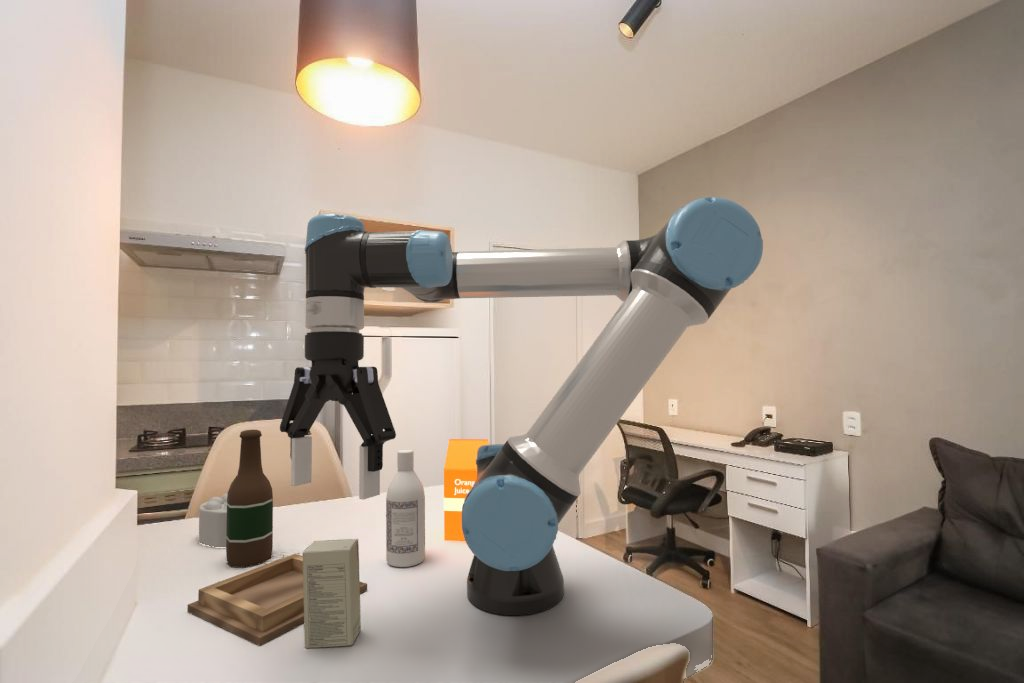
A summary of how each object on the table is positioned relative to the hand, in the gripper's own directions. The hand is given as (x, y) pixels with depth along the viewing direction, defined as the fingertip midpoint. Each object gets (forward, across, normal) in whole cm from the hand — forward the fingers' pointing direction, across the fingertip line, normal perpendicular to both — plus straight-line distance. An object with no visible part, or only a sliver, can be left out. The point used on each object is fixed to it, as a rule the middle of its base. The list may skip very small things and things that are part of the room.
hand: (333, 490), depth 66 cm
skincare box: (+19, 0, 0) cm, 19 cm away
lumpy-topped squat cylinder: (+20, -52, +15) cm, 57 cm away
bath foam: (+19, -10, +24) cm, 32 cm away
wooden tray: (+19, -16, +3) cm, 25 cm away
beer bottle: (+20, -36, +10) cm, 42 cm away
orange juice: (+19, -8, +41) cm, 46 cm away
